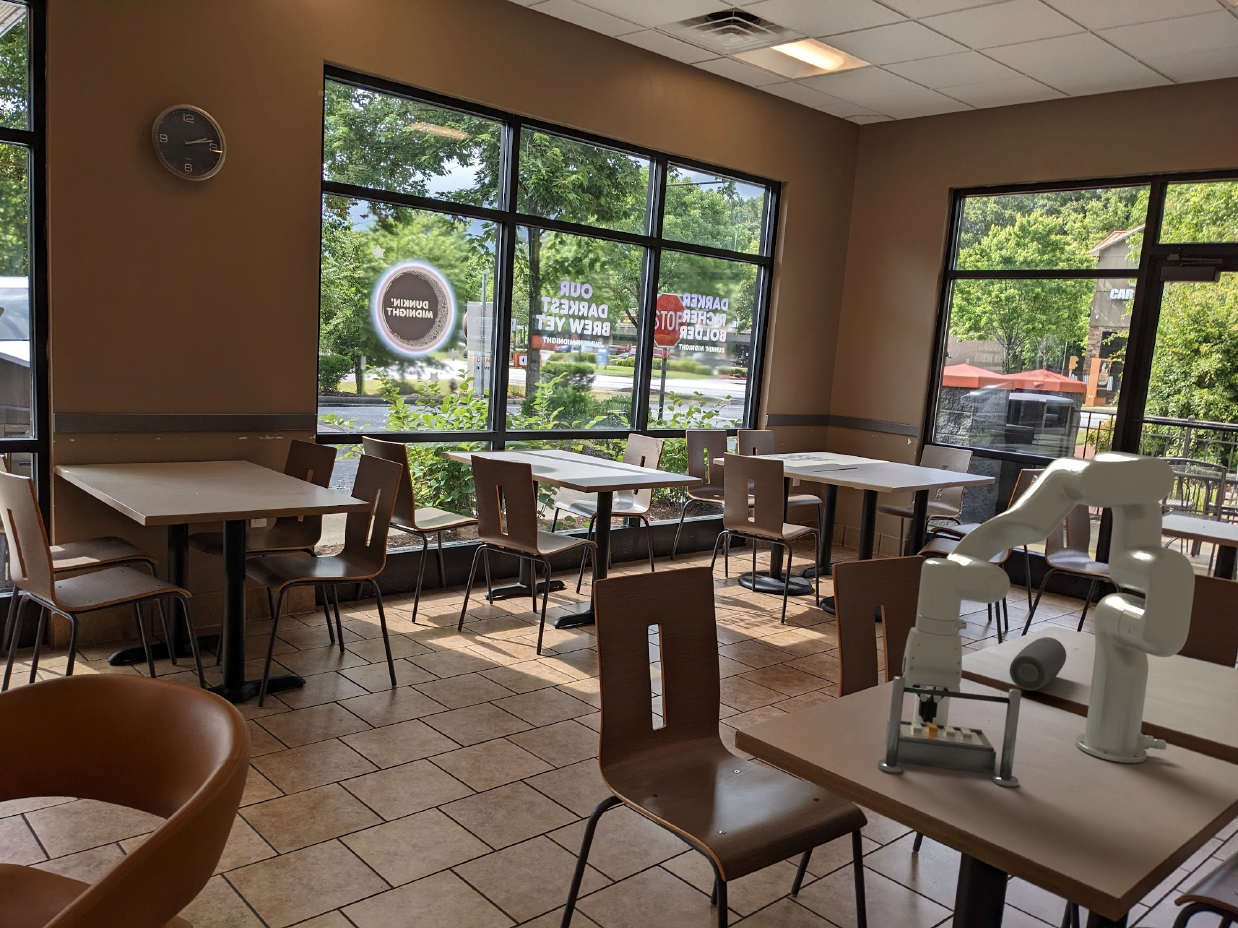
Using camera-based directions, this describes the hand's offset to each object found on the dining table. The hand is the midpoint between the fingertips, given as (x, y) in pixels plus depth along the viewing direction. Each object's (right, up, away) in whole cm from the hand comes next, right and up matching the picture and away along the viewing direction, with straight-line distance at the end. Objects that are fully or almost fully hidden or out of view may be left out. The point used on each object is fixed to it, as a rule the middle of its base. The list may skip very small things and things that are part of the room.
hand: (926, 719), depth 179 cm
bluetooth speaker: (+43, -5, +51) cm, 67 cm away
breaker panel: (+2, -7, +1) cm, 8 cm away
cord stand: (+1, -8, -7) cm, 11 cm away
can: (+4, -7, +10) cm, 13 cm away
